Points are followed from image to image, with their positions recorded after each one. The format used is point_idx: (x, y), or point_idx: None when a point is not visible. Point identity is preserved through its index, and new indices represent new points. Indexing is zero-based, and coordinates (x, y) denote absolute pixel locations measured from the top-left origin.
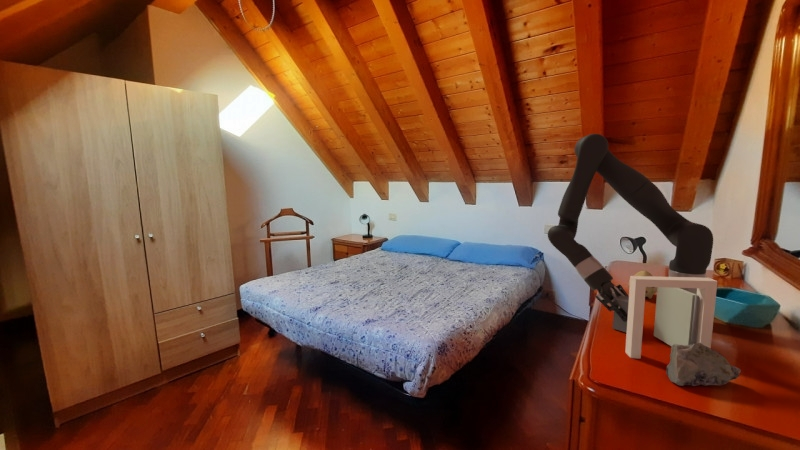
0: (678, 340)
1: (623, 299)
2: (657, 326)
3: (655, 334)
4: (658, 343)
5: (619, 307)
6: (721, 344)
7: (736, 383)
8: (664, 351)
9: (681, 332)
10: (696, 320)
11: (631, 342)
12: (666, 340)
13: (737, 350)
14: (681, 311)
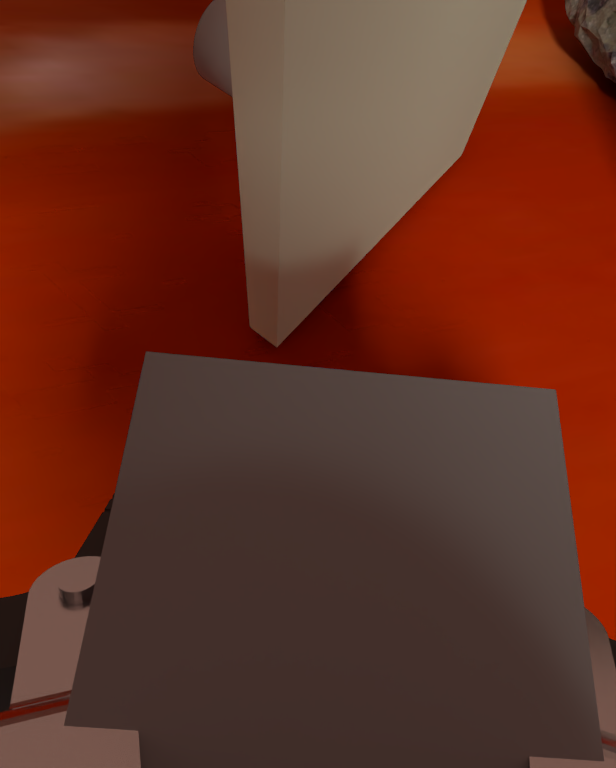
0: (444, 135)
1: (471, 591)
2: (303, 263)
3: (291, 324)
4: (373, 307)
5: (585, 613)
6: (81, 67)
7: (543, 22)
8: (477, 258)
9: (481, 49)
10: None
11: None
12: (365, 244)
13: (122, 20)
14: None
